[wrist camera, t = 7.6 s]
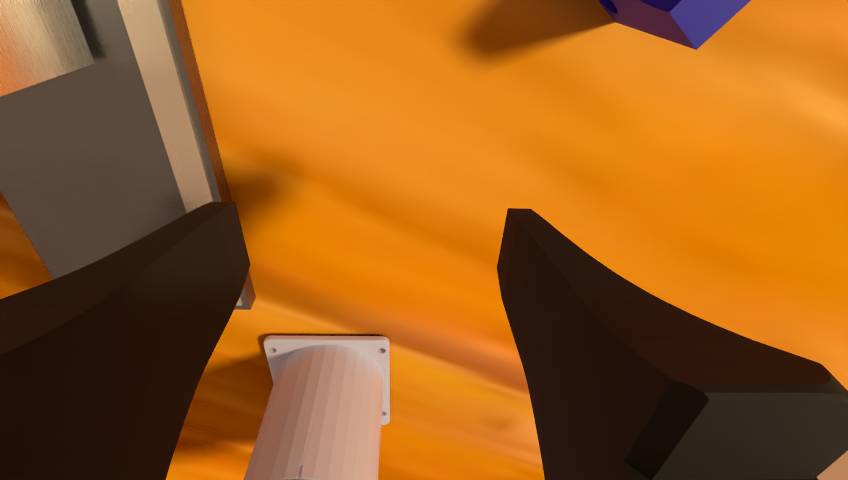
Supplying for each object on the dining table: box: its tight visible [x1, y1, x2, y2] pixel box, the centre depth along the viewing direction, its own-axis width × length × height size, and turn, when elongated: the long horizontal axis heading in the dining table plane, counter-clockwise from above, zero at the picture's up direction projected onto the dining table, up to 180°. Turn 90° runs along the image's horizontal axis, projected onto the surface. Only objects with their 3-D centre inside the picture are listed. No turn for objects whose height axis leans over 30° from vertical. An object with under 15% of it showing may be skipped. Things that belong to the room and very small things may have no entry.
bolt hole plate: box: [0, 0, 256, 310], centre depth 19 cm, size 18×10×1 cm, turn 178°
